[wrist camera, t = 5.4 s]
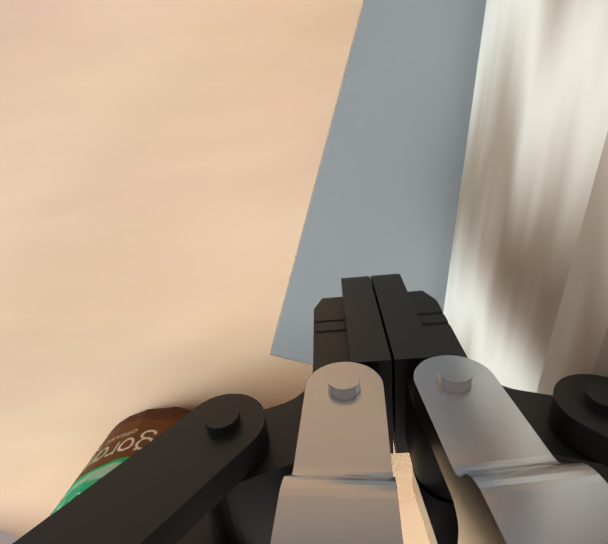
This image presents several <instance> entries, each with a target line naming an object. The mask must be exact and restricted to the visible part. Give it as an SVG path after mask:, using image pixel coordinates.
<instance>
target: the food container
mask: <svg viewBox="0 0 608 544" xmlns="http://www.w3.org/2000/svg"><path fill="white" fill-rule="evenodd" d="M191 411H192V410H189V409H183V408H177V407H175V408H163V409H151V410H146V411H143V412H141V413H138V414H135V415H133V416H130V417H128V418H127V419H125V420H124V421H122V422H120V423H119V424H118V425H117V426H116V427H115V428H114V429H113V430H112V431H111V433H110V434H109V435H108V437H107V438H106V440H105V441H104V442H103V444H102V445H101V446H100V448H99V449H98V451H97V452H96V453H95V455H94V456H93V457H92V459H91V460H90V462H89V463H88V464H87V466H86V467H85V468H84V470H83V471H82V473H81V474H80V475H79V477H78V478H77V479H76V481H75V482H74V484H73V485H72V486H71V488H70V489H69V490H68V492H67V493H66V495H65V496H64V497H63V499H62V500H61V501H60V503H59V504H58V506H57V507H56V508H55V510H54V511H53V512H52V514H53V513H55V512H56V511H57V510H59V509H60V508H61V507H63V506H64V505H65V504H67V503H68V502H70V501H71V500H72V499H74V498H75V497H76V496H78V495H79V494H80V493H82V492H83V491H84V490H86V489H87V488H88V487H90V486H91V485H92V484H94V483H95V482H96V481H98V480H99V479H101V478H102V477H103V476H105V475H106V474H107V473H109V472H110V471H111V470H113V469H114V468H115V467H117V466H118V465H119V464H121V463H122V462H123V461H125V460H126V459H127V458H129V457H130V456H132V455H133V454H134V453H136V452H137V451H138V450H140V449H141V448H142V447H144V446H145V445H146V444H148V443H149V442H150V441H152V440H153V439H154V438H156V437H157V436H159V435H160V434H161V433H163V432H164V431H165V430H167V429H168V428H169V427H171V426H172V425H173V424H175V423H176V422H177V421H179V420H180V419H181V418H183V417H184V416H185V415H187V414H188V413H190V412H191ZM52 514H51V515H52ZM51 515H50V516H51Z"/></svg>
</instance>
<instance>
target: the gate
mask: <svg viewBox="0 0 608 544" xmlns="http://www.w3.org/2000/svg"><path fill="white" fill-rule="evenodd" d="M443 314H444V315H445V317H446V319H447V320H448V324H450V326H451V328H452V330H453V331H454V333H455V335H456V337H457V339H458V341H459V342H460V344H461V346H462V348H463V350H464V352H465V353H466V355H467V357H468V358H469V359H471V360H474V361H476V362H478V363H480V364H482V365H484V366H485V367H486V368H488V369H489V370H490V371H491V372H492V373H493V374H494V376H495V377H496V378H497V380H498V381H499V383H500V384H501V385H502V386H505V387H508V388H512V389H517V390H522V391H528V392H535V393H541V394H547V395H553V390H554V387H555V384H556V383H557V382H558V381H559V380H560V379H562V378H564V377H566V376H570V375H575V374H593V375H600V376H605V377H608V0H486V8H485V15H484V22H483V29H482V36H481V44H480V51H479V58H478V65H477V72H476V80H475V87H474V94H473V101H472V108H471V116H470V123H469V130H468V137H467V144H466V152H465V159H464V166H463V173H462V181H461V188H460V195H459V202H458V209H457V217H456V224H455V231H454V238H453V245H452V253H451V260H450V267H449V274H448V281H447V289H446V296H445V303H444V310H443Z"/></svg>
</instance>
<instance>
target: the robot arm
mask: <svg viewBox="0 0 608 544" xmlns="http://www.w3.org/2000/svg"><path fill="white" fill-rule="evenodd" d="M341 287H342V297H332V298H322V299H321V300H320V302H319V303H318V304H317V306H316V307H315V308H314V334H313V374H312V375H311V376H310V377H309V379H308V381H307V383H306V387H305V391H304V392H303V393H301V394H300V395H299V396H297V397H296V398H294V399H293V400H291V401H289V402H286V403H284V404H281V405H278V406H274V407H271V408H268V409H265V410H264V409H263V407H262V406H261V404H260V403H259V402H258V401H257V400H255V399H254V398H252V397H250V396H247V395H243V394H226V395H221V396H217V397H215V398H212V399H209V400H208V401H206V402H204V403H202V404H201V405H199V406H198V407H196V408H195V409H194V410H192V411H191V412H190V413H188V414H187V415H185V416H184V417H183V418H181V419H180V420H179V421H177V422H176V423H175V424H173V425H172V426H171V427H169V428H168V429H167V430H165V431H164V432H163V433H161V434H160V435H159V436H157V437H156V438H154V439H153V440H152V441H150V442H149V443H148V444H146V445H145V446H144V447H142V448H141V449H140V450H138V451H137V452H136V453H134V454H133V455H132V456H130V457H129V458H127V459H126V460H125V461H123V462H122V463H121V464H119V465H118V466H117V467H115V468H114V469H113V470H111V471H110V472H109V473H107V474H106V475H105V476H103V477H102V478H101V479H99V480H98V481H96V482H95V483H94V484H92V485H91V486H90V487H88V488H87V489H86V490H84V491H83V492H82V493H80V494H79V495H78V496H76V497H75V498H74V499H72V500H71V501H70V502H68V503H67V504H65V505H64V506H63V507H61V508H60V509H59V510H57V511H56V512H55V513H53V514H52V515H51V516H49V517H48V518H47V519H45V520H44V521H43V522H41V523H40V524H39V525H37V526H36V527H34V528H33V529H32V530H30V531H29V532H28V533H26V534H25V535H24V536H22V537H21V538H20V539H18V540H17V541H16V542H14V543H13V544H403V538H402V529H401V520H400V511H399V502H398V493H397V486H396V480H395V477H393V473H392V464H391V454H390V453H393V442H394V446H395V451H396V453H406V452H409V454H410V458H411V462H412V466H413V477H412V483H413V490H414V494H415V497H416V500H417V503H418V506H419V509H420V512H421V515H422V519H423V522H424V525H425V528H426V531H427V534H428V537H429V540H430V543H431V544H608V377H605V376H600V375H593V374H575V375H570V376H566V377H564V378H562V379H560V380H559V381H558V382H557V383H556V384H555V387H554V390H553V395H547V394H541V393H535V392H528V391H522V390H517V389H512V388H508V387H505V386H502V385H501V384H500V383H499V381H498V380H497V378H496V377H495V376H494V374H493V373H492V372H491V371H490V370H489V369H488V368H486V367H485V366H484V365H482V364H480V363H478V362H476V361H474V360H471V359H469V358H468V357H467V355H466V353H465V352H464V350H463V348H462V346H461V344H460V342H459V341H458V339H457V337H456V335H455V333H454V331H453V330H452V328H451V326H450V324H448V320H447V319H446V317H445V315H444V314H443V311H442V309H441V307H440V306H439V304H438V302H437V300H436V299H434V298H433V297H431V296H430V295H428V294H427V293H425V292H424V291H410V292H407V289H406V287H405V285H404V282H403V280H402V278H401V275H400V274H386V275H373V276H370V277H369V276H362V277H349V278H341Z"/></svg>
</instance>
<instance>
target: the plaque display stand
mask: <svg viewBox="0 0 608 544" xmlns="http://www.w3.org/2000/svg"><path fill="white" fill-rule="evenodd" d="M485 8H486V0H364V1H363V5H362V9H361V13H360V16H359V20H358V24H357V28H356V32H355V35H354V39H353V43H352V47H351V50H350V54H349V58H348V62H347V65H346V69H345V73H344V77H343V81H342V84H341V88H340V92H339V96H338V99H337V103H336V107H335V111H334V114H333V118H332V122H331V126H330V129H329V133H328V137H327V141H326V145H325V148H324V152H323V156H322V160H321V163H320V167H319V171H318V175H317V178H316V182H315V186H314V190H313V194H312V197H311V201H310V205H309V209H308V212H307V216H306V220H305V224H304V227H303V231H302V235H301V239H300V242H299V246H298V250H297V254H296V258H295V261H294V265H293V269H292V273H291V276H290V280H289V284H288V288H287V291H286V295H285V299H284V303H283V307H282V310H281V314H280V318H279V322H278V325H277V329H276V333H275V337H274V340H273V344H272V349H271V354H270V355H273V356H277V357H281V358H285V359H289V360H294V361H298V362H302V363H306V364H311V365H313V334H314V308H315V307H316V306H317V304H318V303H319V302H320V300H321V299H322V298H332V297H342V287H341V278H349V277H362V276H369V277H370V276H373V275H386V274H400V275H401V278H402V280H403V282H404V285H405V287H406V289H407V292H410V291H424V292H425V293H427V294H428V295H430V296H431V297H433V298H434V299H436V300H437V302H438V304H439V306H440V307H441V309H442V311H443V310H444V303H445V296H446V289H447V281H448V274H449V267H450V260H451V253H452V245H453V238H454V231H455V224H456V217H457V209H458V202H459V195H460V188H461V181H462V173H463V166H464V159H465V152H466V144H467V137H468V130H469V123H470V116H471V108H472V101H473V94H474V87H475V80H476V72H477V65H478V58H479V51H480V44H481V36H482V29H483V22H484V15H485Z"/></svg>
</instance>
